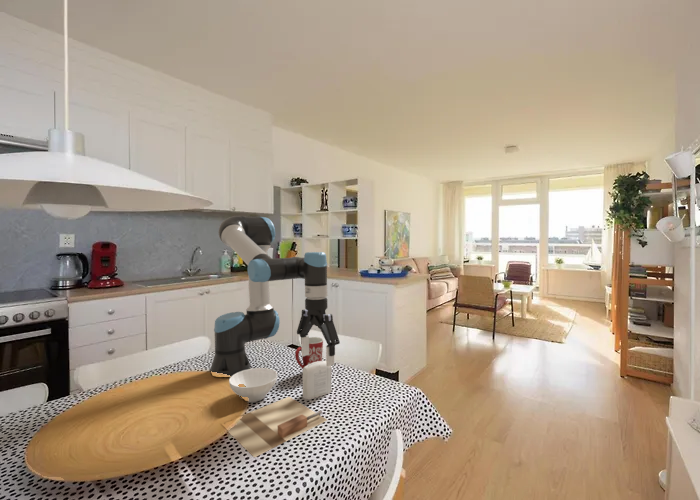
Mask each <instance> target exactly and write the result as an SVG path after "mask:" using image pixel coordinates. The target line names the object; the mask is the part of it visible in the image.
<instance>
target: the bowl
mask: <svg viewBox="0 0 700 500" xmlns="http://www.w3.org/2000/svg"><path fill="white" fill-rule="evenodd" d="M277 379H278V372H277V371H276V370H274V369H273V368H272V369H271V368H266V367H256V368H255V367H253V368H249V369H247V370H243V371H240V372H238V373H236V374H234V375H233V376H231V377H229V380H228V383H229V387H230V390H232V392H233V393H235V394H236V395H237V396H238V395H239V396H238V397H240V396H242V397H248V398H249V402H248V403H256V402H260V401H262V400H264V399H265V397H267V394H268V393H269V392H270V391H271V390H272V388H273V387H275V384H276V383H277ZM239 384H244V385H245V386H246V387H239V386H238V385H239Z"/></svg>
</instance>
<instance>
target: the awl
mask: <svg viewBox="0 0 700 500" xmlns="http://www.w3.org/2000/svg"><path fill="white" fill-rule="evenodd" d="M322 413H323V412H322V410H319V411H317V412H315V414H313V415H311V416H308V417H306V416H304V415H302V414H301V415H299V416H297V417H295V418H293V419H291V420H288V421H286V422H284V423H282V424H280V425H278V435H279V436H281V437H282V438H284V437H286V436H288V435H290V434H292V433H294V432H296V431H298V430H300V429H302V428H304V427H306V426H307V420H309V419H311V418H313V417H315V416H317V415H322Z"/></svg>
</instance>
